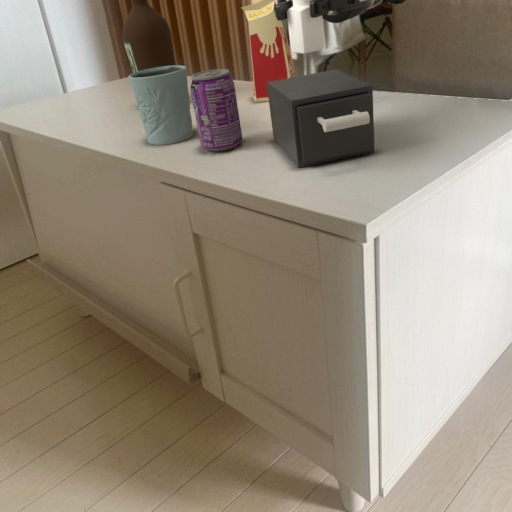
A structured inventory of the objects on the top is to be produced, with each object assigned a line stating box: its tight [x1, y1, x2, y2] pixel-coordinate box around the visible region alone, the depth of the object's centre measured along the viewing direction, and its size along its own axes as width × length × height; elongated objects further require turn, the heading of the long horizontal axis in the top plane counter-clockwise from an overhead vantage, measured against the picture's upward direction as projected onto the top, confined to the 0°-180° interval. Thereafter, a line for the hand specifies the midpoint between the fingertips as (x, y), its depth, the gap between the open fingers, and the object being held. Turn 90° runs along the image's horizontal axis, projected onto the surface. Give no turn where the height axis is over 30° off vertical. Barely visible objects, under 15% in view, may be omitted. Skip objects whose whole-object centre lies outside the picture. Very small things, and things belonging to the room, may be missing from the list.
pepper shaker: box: [286, 0, 325, 55], centre depth 78 cm, size 4×4×10 cm
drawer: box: [297, 93, 375, 163], centre depth 78 cm, size 18×10×8 cm, turn 12°
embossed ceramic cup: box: [128, 64, 194, 146], centre depth 98 cm, size 10×10×12 cm
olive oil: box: [121, 0, 177, 74], centre depth 120 cm, size 11×11×25 cm
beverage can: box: [189, 68, 243, 152], centre depth 88 cm, size 7×7×12 cm
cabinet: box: [267, 69, 375, 169], centre depth 82 cm, size 15×12×10 cm
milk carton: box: [240, 0, 296, 103], centre depth 113 cm, size 9×9×20 cm
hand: (295, 11), depth 76 cm, fingers closed on pepper shaker, 5 cm apart
